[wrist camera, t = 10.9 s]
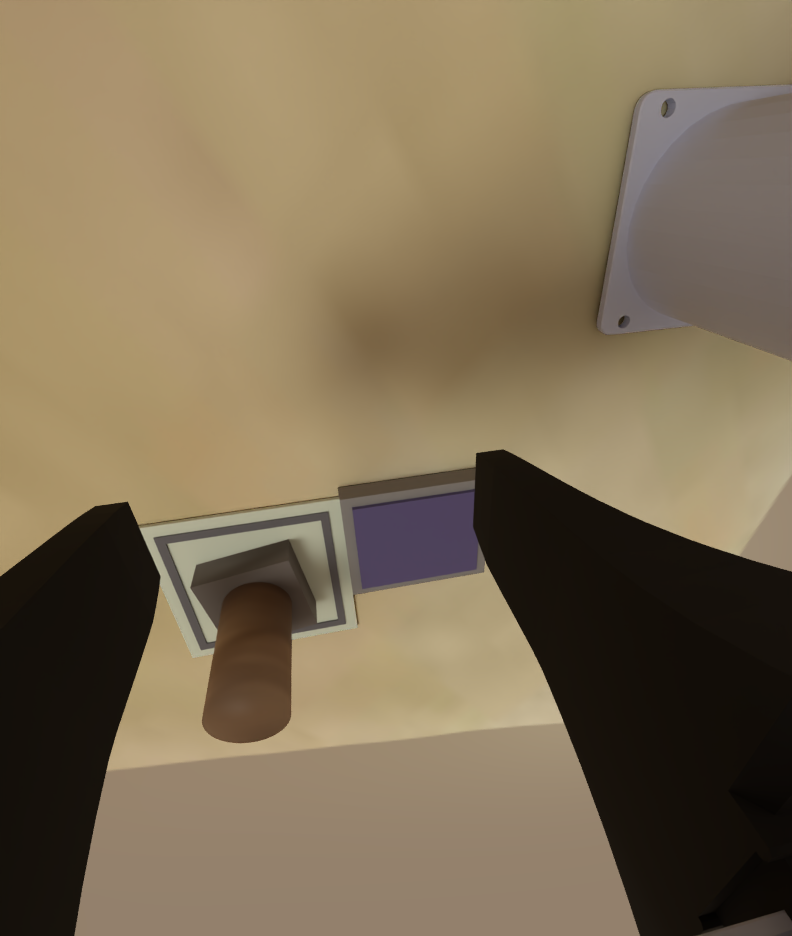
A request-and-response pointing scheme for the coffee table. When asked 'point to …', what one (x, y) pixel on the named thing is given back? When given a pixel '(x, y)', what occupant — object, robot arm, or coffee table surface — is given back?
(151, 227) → the coffee table surface
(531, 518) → the robot arm
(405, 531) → the ink pad
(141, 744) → the coffee table surface
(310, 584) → the sheet
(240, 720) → the stamp
